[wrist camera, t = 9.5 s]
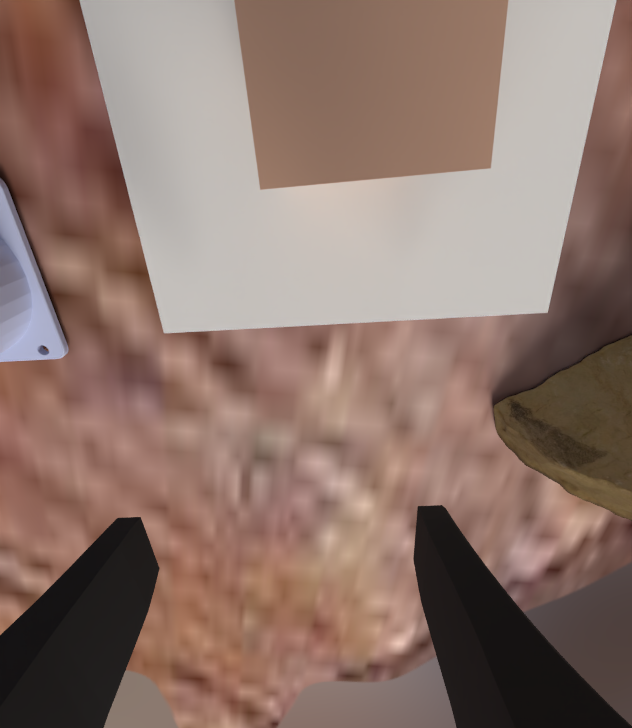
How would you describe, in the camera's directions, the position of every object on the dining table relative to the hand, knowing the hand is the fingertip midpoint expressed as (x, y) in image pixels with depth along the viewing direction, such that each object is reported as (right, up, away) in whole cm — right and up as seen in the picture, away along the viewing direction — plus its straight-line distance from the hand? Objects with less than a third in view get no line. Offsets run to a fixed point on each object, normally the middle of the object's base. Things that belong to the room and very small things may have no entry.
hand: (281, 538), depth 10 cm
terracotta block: (+2, +13, +2) cm, 13 cm away
